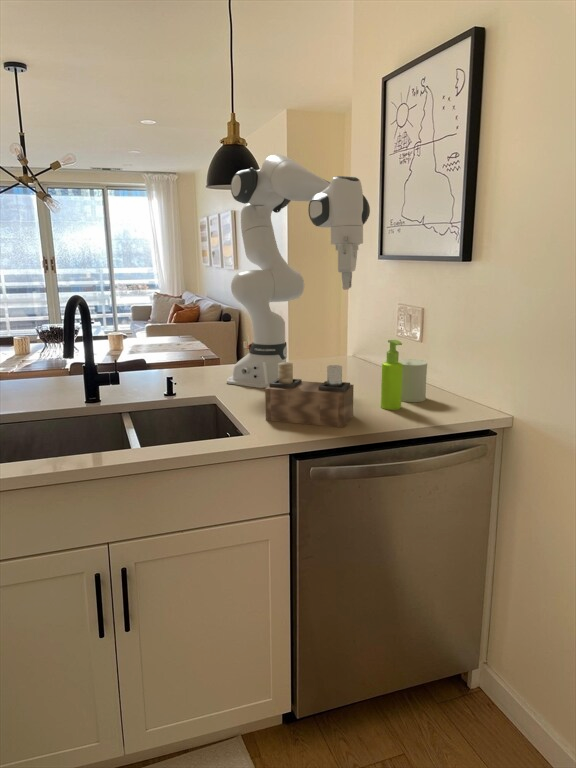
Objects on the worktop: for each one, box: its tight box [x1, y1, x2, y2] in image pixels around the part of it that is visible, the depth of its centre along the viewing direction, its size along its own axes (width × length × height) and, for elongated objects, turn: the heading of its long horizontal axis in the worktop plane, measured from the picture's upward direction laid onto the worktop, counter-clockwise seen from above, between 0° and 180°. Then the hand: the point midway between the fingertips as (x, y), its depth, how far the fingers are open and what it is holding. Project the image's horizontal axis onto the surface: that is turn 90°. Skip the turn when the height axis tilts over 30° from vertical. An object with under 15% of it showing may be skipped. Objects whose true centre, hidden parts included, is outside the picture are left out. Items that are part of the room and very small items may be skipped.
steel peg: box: [326, 364, 343, 387], centre depth 151 cm, size 4×4×8 cm
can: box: [398, 358, 428, 403], centre depth 174 cm, size 9×9×12 cm
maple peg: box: [278, 361, 294, 384], centre depth 156 cm, size 4×4×8 cm
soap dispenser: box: [380, 339, 403, 411], centre depth 163 cm, size 6×7×20 cm
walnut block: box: [264, 378, 354, 428], centre depth 155 cm, size 22×11×10 cm, turn 71°
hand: (347, 288), depth 157 cm, fingers open, 8 cm apart
